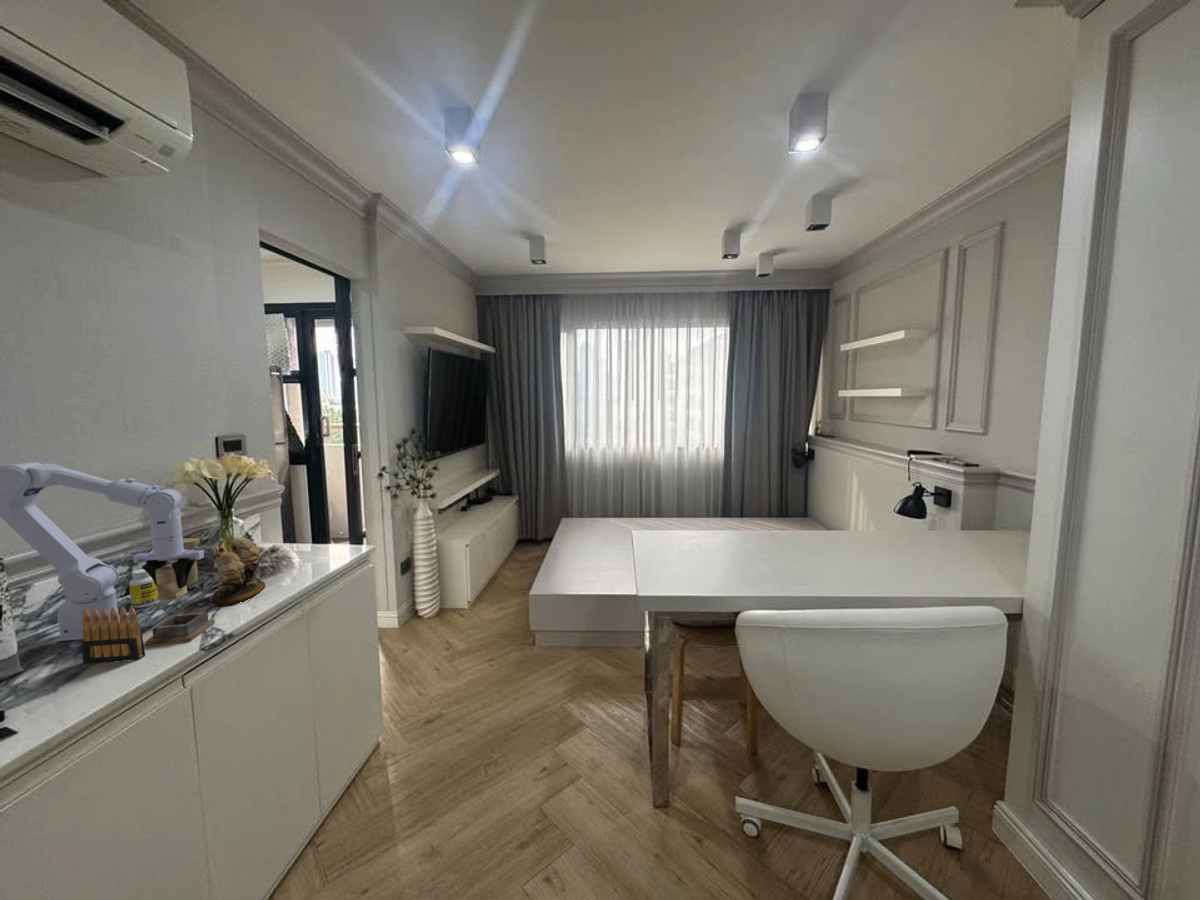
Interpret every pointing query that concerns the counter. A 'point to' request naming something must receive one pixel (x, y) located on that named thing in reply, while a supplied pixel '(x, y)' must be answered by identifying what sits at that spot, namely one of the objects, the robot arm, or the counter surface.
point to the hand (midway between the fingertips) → (172, 587)
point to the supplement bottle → (142, 589)
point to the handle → (193, 574)
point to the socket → (180, 628)
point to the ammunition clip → (111, 637)
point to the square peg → (168, 584)
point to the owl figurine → (238, 574)
